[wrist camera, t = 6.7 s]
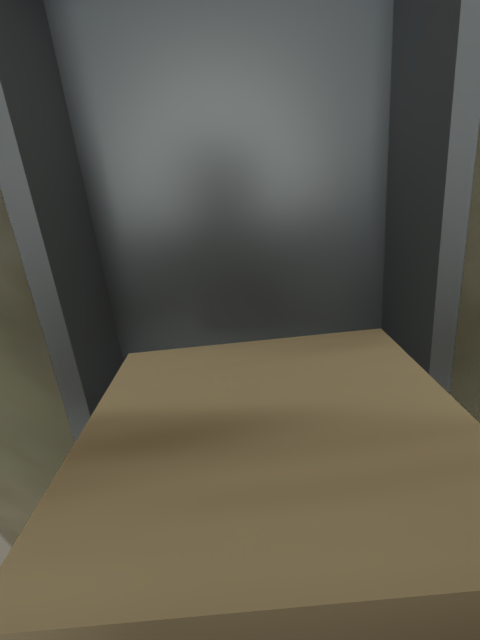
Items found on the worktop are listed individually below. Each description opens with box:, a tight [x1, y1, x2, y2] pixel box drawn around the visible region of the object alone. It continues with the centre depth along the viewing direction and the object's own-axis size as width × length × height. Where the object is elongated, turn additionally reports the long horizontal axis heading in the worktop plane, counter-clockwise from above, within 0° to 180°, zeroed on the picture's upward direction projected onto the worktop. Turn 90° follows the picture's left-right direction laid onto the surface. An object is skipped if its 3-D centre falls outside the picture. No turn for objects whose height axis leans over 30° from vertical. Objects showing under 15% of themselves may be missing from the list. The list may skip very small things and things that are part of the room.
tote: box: [0, 0, 480, 442], centre depth 14 cm, size 18×14×5 cm
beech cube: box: [0, 328, 480, 640], centre depth 6 cm, size 5×5×5 cm
